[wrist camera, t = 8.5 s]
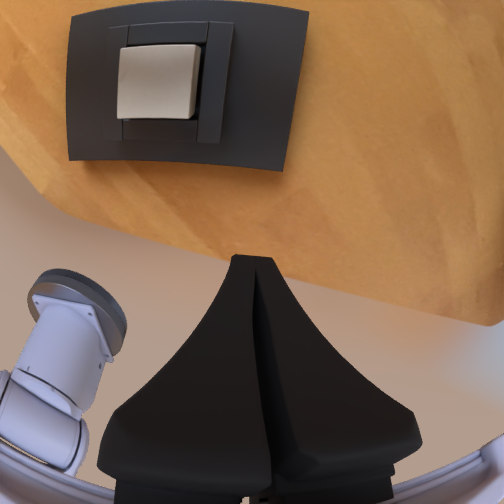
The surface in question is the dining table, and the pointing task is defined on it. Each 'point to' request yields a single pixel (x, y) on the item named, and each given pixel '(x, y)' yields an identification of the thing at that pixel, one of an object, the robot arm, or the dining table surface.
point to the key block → (208, 87)
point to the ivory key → (158, 81)
